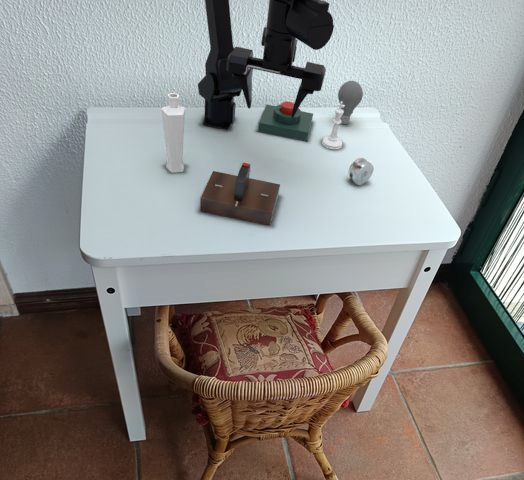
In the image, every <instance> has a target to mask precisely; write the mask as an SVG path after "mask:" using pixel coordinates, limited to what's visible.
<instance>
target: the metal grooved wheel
mask: <svg viewBox="0 0 524 480" xmlns="http://www.w3.org/2000/svg"><path fill="white" fill-rule="evenodd" d="M373 173H374V165H373V164H372V163H371V162H370V161H368V160H367V159H366V158H364V157H359V158H356V159H355V160H353V161H352V162H351V164H350V165H349V167H348V170H347V176H348V178H349V179H350V180H351V181H353V182H354V183H355V184H356V185H357V186H362V185H364V184H366V183H367V182H368V181H369V180H370V179H371V177H372V176H373Z"/></svg>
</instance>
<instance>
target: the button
mask: <svg viewBox="0 0 524 480" xmlns="http://www.w3.org/2000/svg"><path fill="white" fill-rule="evenodd" d="M294 103H295V102H292V101H282V102H281V103H280V104H281V110H280V112H281V113H283V114H286V115H292V110H293V107H294Z"/></svg>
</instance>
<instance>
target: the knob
mask: <svg viewBox="0 0 524 480" xmlns="http://www.w3.org/2000/svg"><path fill="white" fill-rule="evenodd" d="M250 173H251V164H250V163H247V162H245V161H244V162H242V163H241V165H240V168H239V171H238V173H237V175H236V176H237V178H236V181H235V193H234V199H236V200H241V201H242V200H243V197H244V194H245V191H246V189H247V186H248V183H249V178H250V176H251V175H250Z"/></svg>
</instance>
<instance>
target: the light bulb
mask: <svg viewBox="0 0 524 480" xmlns="http://www.w3.org/2000/svg"><path fill="white" fill-rule="evenodd" d="M363 96H364V91H363V88H362V85H361V84H360V83H359V82H357V81H355V80H347V81H345V82H344V83H343V84H342V85H341V86H340V87H339V89H338V92H337V100H338V104H340V102H342V105H345V106H344V108H342V107H341V109H342V110H343V111H344V113H343V115H342V116H341V118H340V120H341V121H342V123H341V124H343V125H345V124H349V123H350V119H351V116H352V114H354V110H356V108H357V107H358V105H360V104H361V102H362V100H363Z"/></svg>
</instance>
